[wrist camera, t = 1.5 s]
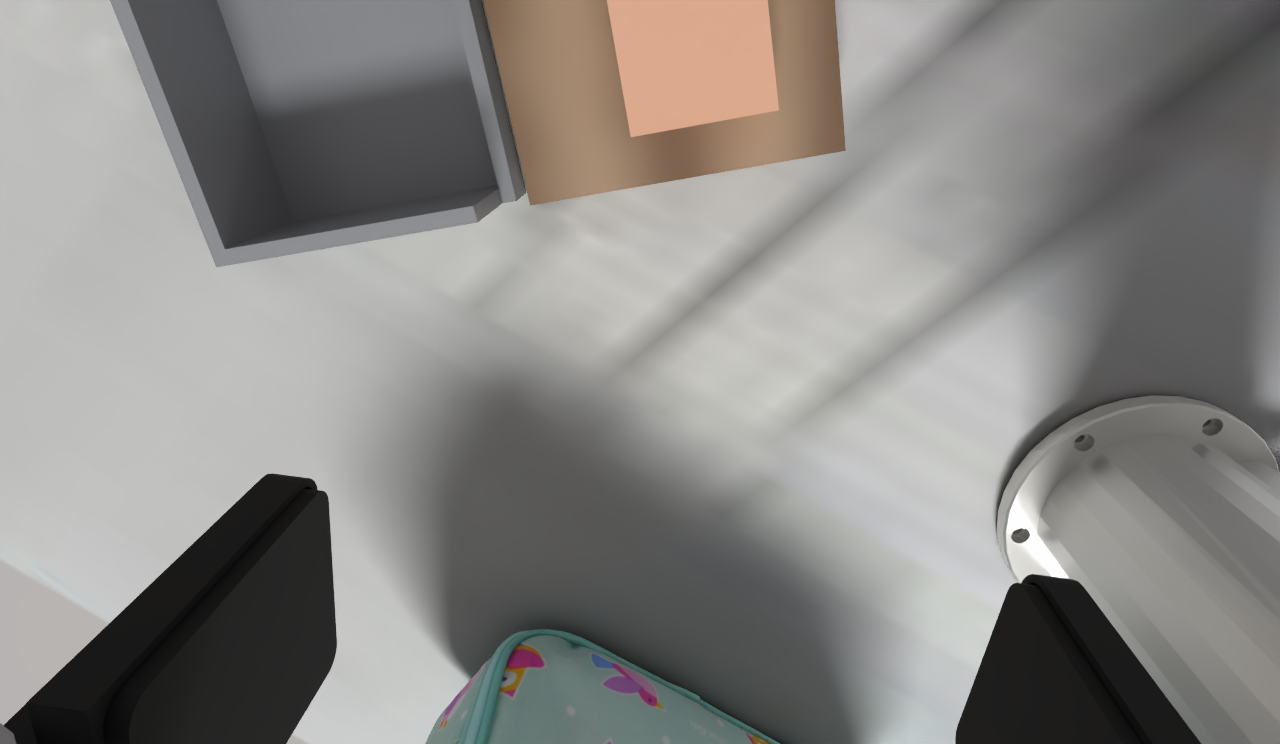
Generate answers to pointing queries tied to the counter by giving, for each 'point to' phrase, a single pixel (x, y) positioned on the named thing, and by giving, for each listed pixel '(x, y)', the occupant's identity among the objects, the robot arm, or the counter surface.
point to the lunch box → (578, 700)
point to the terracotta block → (693, 61)
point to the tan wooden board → (596, 114)
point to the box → (325, 117)
